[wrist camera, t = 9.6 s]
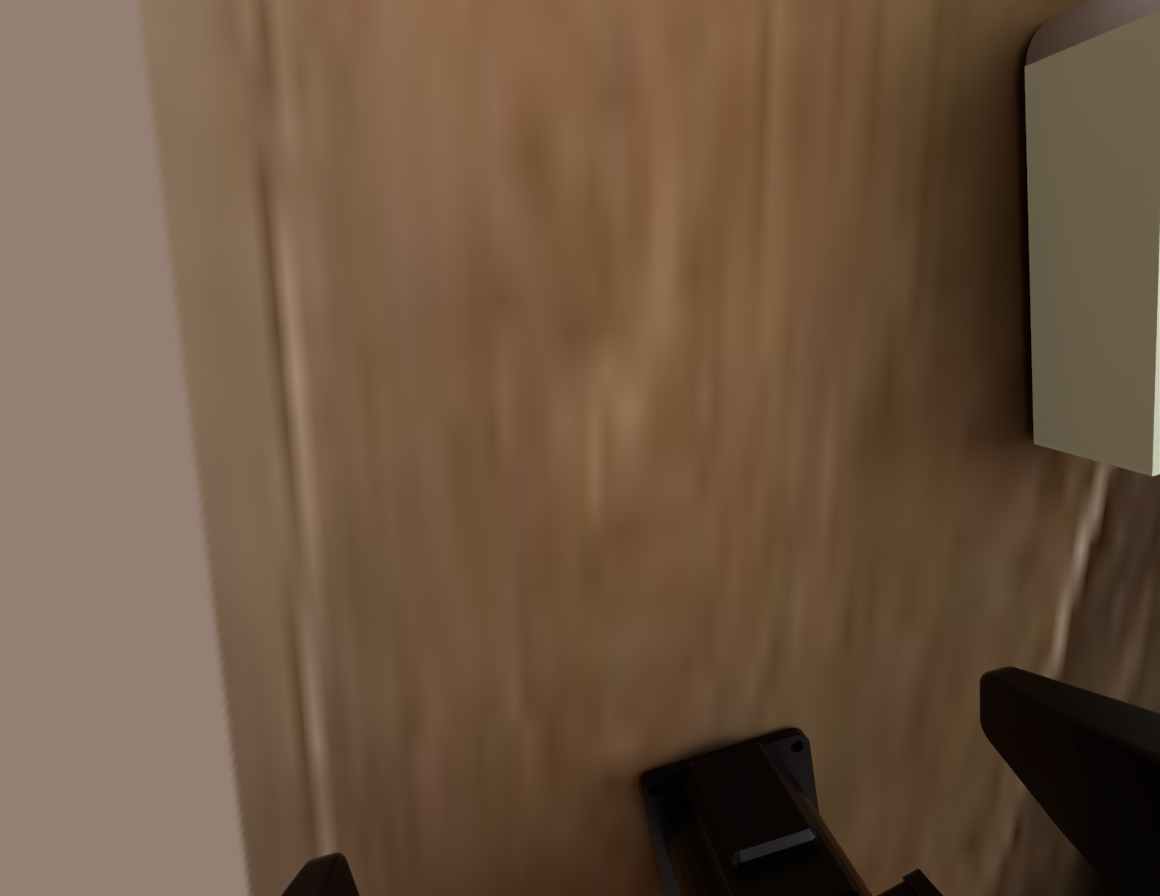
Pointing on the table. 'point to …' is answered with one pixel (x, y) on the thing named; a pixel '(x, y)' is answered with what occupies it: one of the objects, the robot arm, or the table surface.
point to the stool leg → (1096, 231)
